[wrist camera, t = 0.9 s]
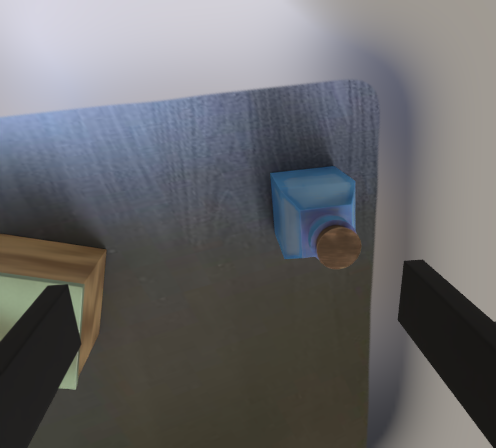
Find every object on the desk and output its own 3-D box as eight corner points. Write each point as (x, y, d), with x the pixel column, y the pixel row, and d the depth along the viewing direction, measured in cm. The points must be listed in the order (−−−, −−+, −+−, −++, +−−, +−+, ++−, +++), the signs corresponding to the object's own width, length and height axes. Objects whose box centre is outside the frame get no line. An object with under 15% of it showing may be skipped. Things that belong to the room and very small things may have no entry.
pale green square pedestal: (-3, 230, 37) (-58, 268, 30) (109, 247, 39) (82, 287, 31) (-2, 322, 41) (-52, 377, 33) (101, 335, 42) (75, 389, 35)
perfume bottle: (333, 165, 37) (383, 201, 26) (335, 225, 40) (381, 282, 28) (270, 172, 37) (292, 211, 26) (274, 232, 39) (297, 292, 28)
